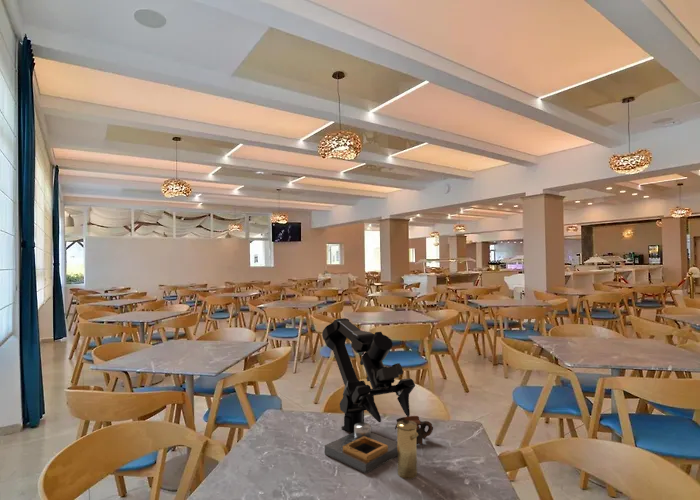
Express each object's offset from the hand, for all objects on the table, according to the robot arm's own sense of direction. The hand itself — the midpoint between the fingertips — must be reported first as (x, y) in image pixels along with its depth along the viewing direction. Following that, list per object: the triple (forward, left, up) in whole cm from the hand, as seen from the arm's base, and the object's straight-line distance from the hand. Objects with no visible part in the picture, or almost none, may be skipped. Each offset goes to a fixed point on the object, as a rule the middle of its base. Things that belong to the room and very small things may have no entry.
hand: (394, 418), depth 113 cm
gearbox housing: (+2, -10, -12) cm, 16 cm away
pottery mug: (-16, -5, -13) cm, 21 cm away
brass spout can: (+3, +7, -12) cm, 14 cm away
